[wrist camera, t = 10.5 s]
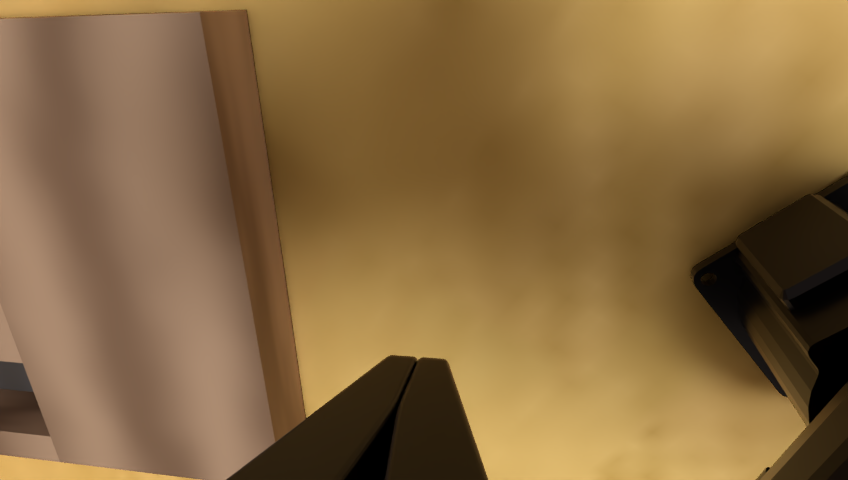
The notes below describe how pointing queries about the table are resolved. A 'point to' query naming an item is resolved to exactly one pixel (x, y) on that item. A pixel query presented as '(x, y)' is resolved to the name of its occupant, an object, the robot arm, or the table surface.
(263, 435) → the brown piece
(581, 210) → the table surface
